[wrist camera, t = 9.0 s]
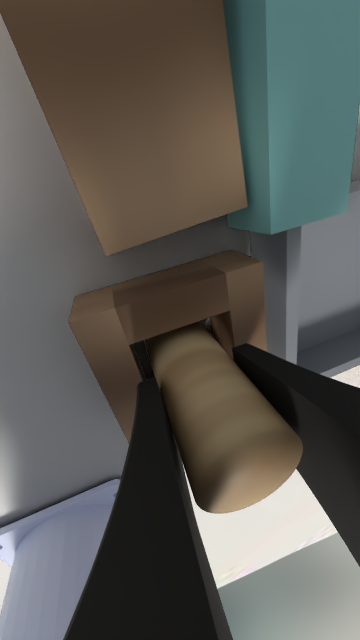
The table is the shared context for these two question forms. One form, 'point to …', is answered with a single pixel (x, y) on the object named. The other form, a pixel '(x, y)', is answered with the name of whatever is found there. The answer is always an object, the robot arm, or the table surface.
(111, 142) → the tan wooden slab
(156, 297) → the socket
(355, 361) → the tray
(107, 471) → the table surface
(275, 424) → the dowel
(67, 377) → the table surface
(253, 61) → the teal rectangular block
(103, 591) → the robot arm
